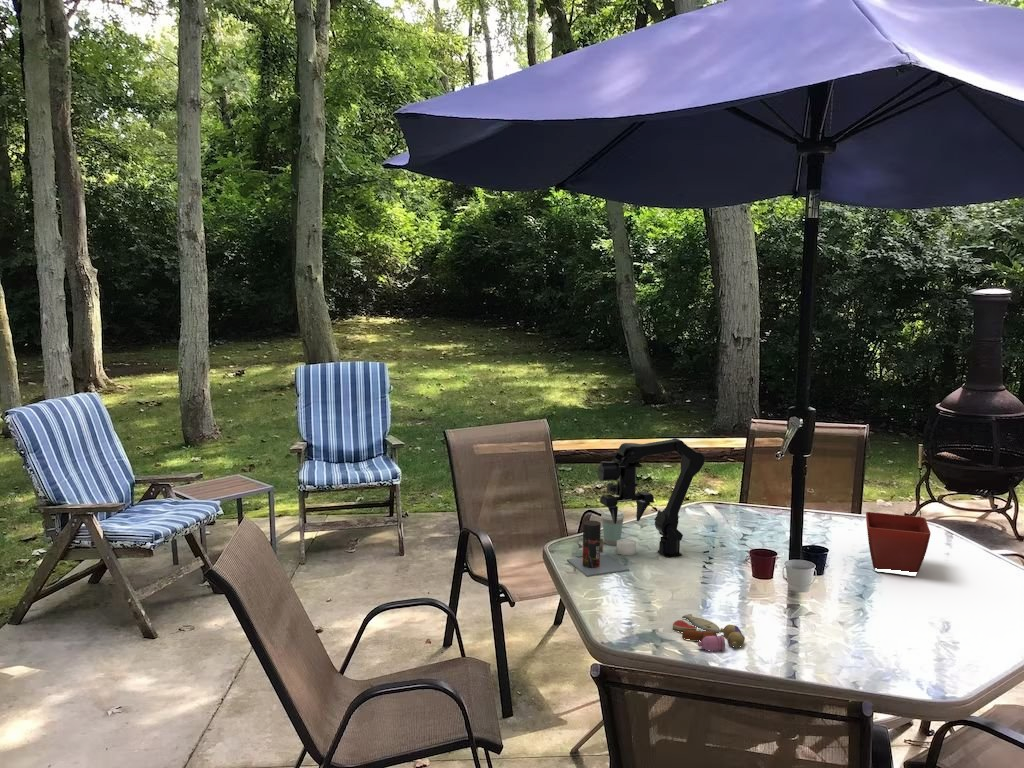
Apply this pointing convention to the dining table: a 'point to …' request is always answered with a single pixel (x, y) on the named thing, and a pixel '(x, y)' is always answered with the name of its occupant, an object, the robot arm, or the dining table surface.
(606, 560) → the slate board
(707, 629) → the toy food set
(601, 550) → the walnut box
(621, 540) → the off-white smooth dome
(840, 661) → the dining table surface
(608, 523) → the coffee cup
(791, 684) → the dining table surface
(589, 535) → the deodorant
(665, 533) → the robot arm
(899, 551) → the plant pot
